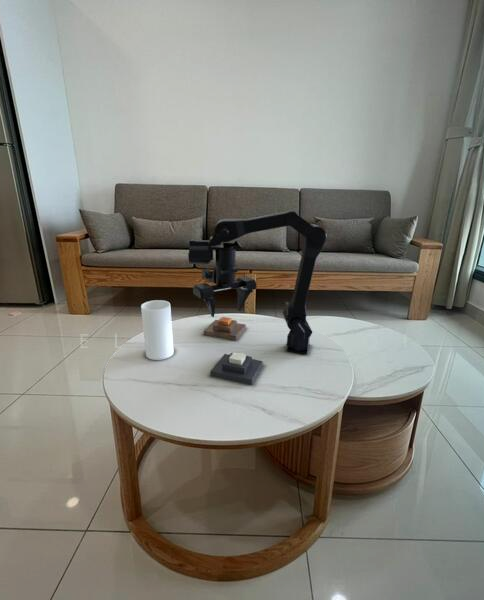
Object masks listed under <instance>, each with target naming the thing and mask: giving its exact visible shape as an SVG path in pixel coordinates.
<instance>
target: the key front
mask: <svg viewBox="0 0 484 600" xmlns="http://www.w3.org/2000/svg"><path fill="white" fill-rule="evenodd" d="M232 353H233V354H232V355H231V356H230V358H229V363H232V364H237V365H242V364H243V363H244V361H245V360H246V356H247V354H246V353H241V352H235V351H234V352H232Z"/></svg>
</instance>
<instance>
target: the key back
mask: <svg viewBox="0 0 484 600" xmlns="http://www.w3.org/2000/svg"><path fill="white" fill-rule="evenodd" d="M220 318H221V319H220ZM220 318H219V319H220V320H219V319H218V320H219V325H225V326H229V325H230V324H231V323H232V320H233V317H228V316H227V317H226V316H222V317H220Z"/></svg>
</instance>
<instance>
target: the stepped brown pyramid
mask: <svg viewBox="0 0 484 600" xmlns="http://www.w3.org/2000/svg"><path fill="white" fill-rule="evenodd" d="M221 318H222V317H220V318H219V319H214V320H213V322H211V323H210V324H209V325H208V326H207V327H206V328H205V329H204V330H203V335H204V336H207V337H213V338H219V339H225V340H231V341H237V340H238V339H239V338H240V336H241V335H242V334H243V333H244V331H245V330H246V328H247V325H246V324H245V323H238V320H235V319H232V323H231V324H230V325H229V326H225V325H219V320H220V319H221Z"/></svg>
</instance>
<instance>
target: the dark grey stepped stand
mask: <svg viewBox="0 0 484 600" xmlns="http://www.w3.org/2000/svg"><path fill="white" fill-rule="evenodd" d="M233 353H234V352H230V354H228V353H224V354H223V355H222V356H221V358H220V359H219V360H218V361H217V363H216V364H215V365H214V366H213V367H212V369H211V370H210V377H212V378H217V379H222V380H227V381H232V382H235V383H240V384H246V385H250V386H252V385H253V384H254V382H255V380H256V378H257V377H258V375H259V373H260V372H261V369H262V368H263V365H264V361H263V360H259V359H255V358H253V356H250V355H246V360H245V361H244V363H243V364H242V365H237V364H232V363H229V358H230V356H231V355H232V354H233Z"/></svg>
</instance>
